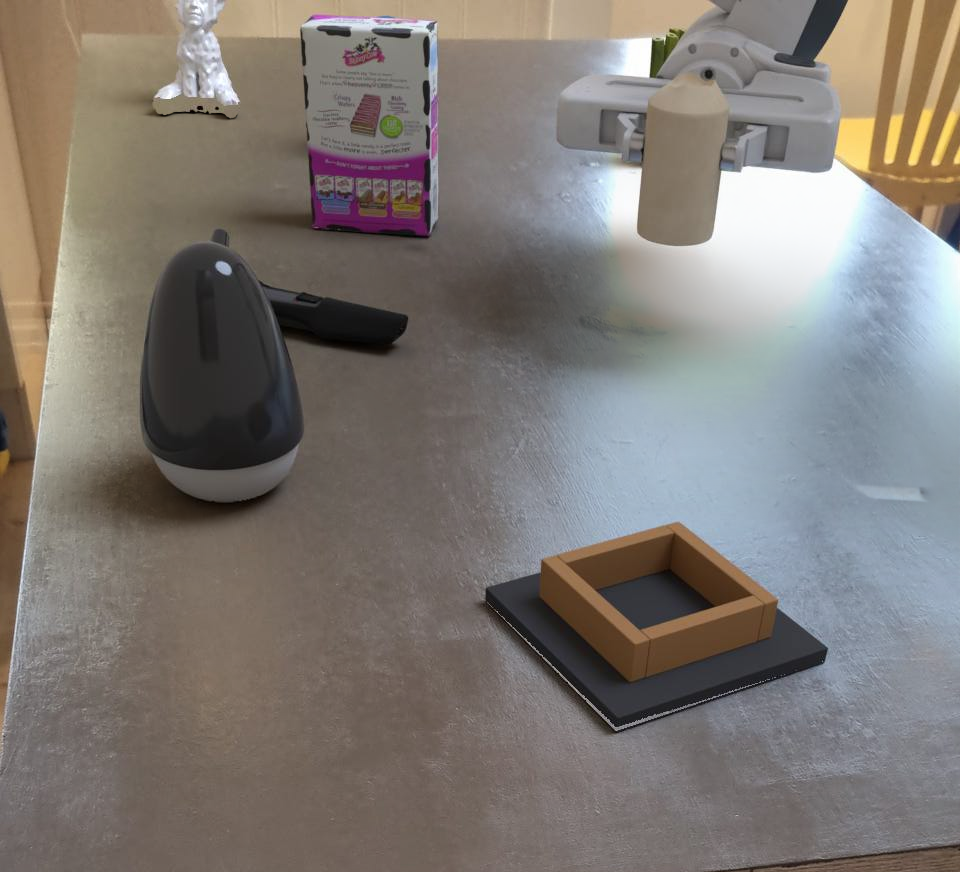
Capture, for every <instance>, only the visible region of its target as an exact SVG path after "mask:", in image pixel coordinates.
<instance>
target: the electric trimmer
mask: <svg viewBox="0 0 960 872" xmlns="http://www.w3.org/2000/svg"><path fill="white" fill-rule="evenodd" d="M258 280H259V282H260V284H261V285H262V287H263V289H264V291H265V293H266V295H267V297H268V299H269V301H270V303H271V306H272V308H273V310H274V313H275V315H276V318H277V321H278V323H279V326H282V327H288V328H293V329H299V330H304V331H309V332H312V333H314V334H315V335H316V336H317V338H320V339H328V340H330V339H331V340H338V341H339V340H340V341H349V342H360V343H369V344H380V345H381V344H382V345H391V344H393V343H394V342H396V341H397V340H398V339H400V338H401V337H402V336H404V334H405V332H406V330H407V327H408V322H409V316H408V315H407V314H404V313H399V312H395V311H391V310H386V309H381V308H377V307H372V306H369V305H363V304H358V303H354V302H351V301H345V300H340V299H337V298H332V297H329V296H325V297H323V296H321V295H320V296H318V295H315V294H312V293H307V292H306V291H302V292H298V291H293V290H288V289H284V288H280V287H279V288H278V287H274V286H271V285H268V284H265V283H264V282H263V281H261V280H260V279H258Z"/></svg>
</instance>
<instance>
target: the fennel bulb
mask: <svg viewBox="0 0 960 872" xmlns="http://www.w3.org/2000/svg"><path fill="white" fill-rule="evenodd" d="M686 30H687V29H685V28H678V27H669V29H668V32H666V34H665V39H664V38H663V37H661V36H653V37H651V50H650V63H649V75H648V78H656V76H657V74H658V72H659V70H660V69H661V67H662V66H663V64H664V63H665V61H666V60H667V58H668V57H669V55H670V54H671V52H672V51H673V49H674V48H675V47H676V45H677V43H678V41H679V40H680V38H681V37H682V35H683V34H684V33H685V32H686Z"/></svg>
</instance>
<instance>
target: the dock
mask: <svg viewBox="0 0 960 872" xmlns="http://www.w3.org/2000/svg"><path fill="white" fill-rule="evenodd" d="M484 596H485V599H484V602H485V603H486V604H487V606H489V607H490V609H491V610H493V611H494V612H495V613H496V614H497V615H498V616H499V617H500V619H502V620H503V621H504V622H505V624H507V625H508V626H509V627H510V629H512V630H513V631H514V632H515V633H516V634H517V636H519V637H520V638H521V639H522V640H523V641H524V642H525V643H526V644H527V645H528V647H530V648H531V650H533V651H534V652H535V653H536V654H537V655H538V656H539V658H540V659H542V660H543V661H544V662H545V663H546V664H547V666H549V667H550V668H551V669H552V671H554V672H555V673H556V674H557V676H558V677H559V678H561V680H563V681H564V682H565V683H566V685H568V687H570V689H572V690H573V691H574V692H575V693H576V694H577V696H579V698H581V699H582V700H583V702H585V704H586V705H587V706H588V707H589V708H590V709H592V710H593V712H594V713H596V714H597V716H599V717H600V719H601V720H603V722H605V723H606V725H608V727H610V728H611V729H612V730H613V731H614V732H615V733H620V732H623V731H625V730H628V729H631V728H635V727H636V726H640V725H643V724H646V723H648V722H649V723H650V722H652V721H655V720H657V719H661V718H664V717H667V716H670V715H673V714H676V713H678V712H682V711H684V710H688V709H691V708H693V707H697V706H700V705H702V704H705V703H709V702H712V701H714V700H717V699H720V698H723V697H726V696H729V695H732V694H736V693H738V692H741V691H744V690H747V689H750V688H753V687H756V686H758V685H761V684H764V683H768V682H770V681H773V680H774V681H775V680H777V679H779V678H783V677H786V676H789V675H792V674H795V673H798V672H800V671H803V670H806V669H809V668H812V667H815V666H819V665H821V664H824V663H826V660H827V656H828V651H829V647H828V646H827V645H826V644H824V643H823V642H821V640H819V639H818V638H816V637H815V636H814V635H812V634H811V632H809V631H807V630H806V629H805V628H804V627H802V626H801V625H800V624H799V623H798V622H796V621H795V620H794V619H793V618H791V617H790V616H789V615H787V614H786V613H784V612H783V610H781V609H779V607H778V604H779V598H777V597H776V596H775V595H773V594H772V593H771V592H770V591H769V590H767V589H765V587H764V586H762V585H761V584H759V583H758V582H757V581H755V580H754V579H753V578H752V577H750V576H749V575H748V574H747V573H746V572H744V571H743V570H742V569H740V568H739V567H738V566H737V565H735V564H734V563H732V561H730V560H729V559H727V558H726V557H725V556H724V555H722V554H721V553H720V552H719V551H717V550H716V549H715V548H714V547H712V546H711V545H710V544H709V543H707V542H706V541H704V540H703V539H702V538H701V537H699V536H698V535H697V534H696V533H694V532H693V531H692V530H690V529H689V528H688V527H687V526H686V525H684V524H683V523H682V522H680V521H675V522H671V523H667V524H665V525H664V524H663V525H659V526H657V527H653V528H649V529H646V530H642V531H638V532H634V533H631V534H627V535H624V536H620V537H616V538H612V539H608V540H605V541H601V542H598V543H594V544H590V545H587V546H584V547H579V548H576V549H572V550H568V551H565V552H561V553H558V554H556V555H555V554H554V555H552V556H548V557H547V556H546V557H544V558H541V560H540V571H539V572H537V573H533V574H529V575H526V576H522V577H519V578H515V579H511V580H507V581H505V582H501V583H497V584H493V585H490V586H487V587H485V595H484ZM485 600H486V601H485ZM487 602H488V603H489V604H490V605H491V606H492V607H493V608H492V607H491V606H490V605H489V604H488V603H487ZM494 609H495V610H496V611H498V613H499V614H500V615H501V616H503V617H504V618H505V620H506V621H507V622H509V623H510V624H511V625H512V627H514V628H515V629H516V630H517V631H518V632H519V633H520V634H521V635H522V636H523V637H524V638H526V639H527V641H528V642H530V643H531V645H532V646H534V647H535V648H536V650H538V651H539V653H540V654H542V655H543V657H545V658H546V659H547V660H548V661H549V662H550V663H551V664H552V666H554V667H555V668H556V669H557V670H558V671H559V672H560V673H561V674H562V675H563V676H564V677H565V678H566V679H567V680H568V681H569V682H570V683H571V684H572V685H573V686H574V687H575V688H576V689H577V690H578V691H579V692H580V693H581V694H582V695H584V696H585V698H587V699H588V700H589V701H590V702H591V703H592V704H593V705H594V706H595V707H596V708H597V709H598V710H599V711H601V713H602V714H604V716H605V717H607V719H609V720H610V722H611V723H612V724H614V726H615V727H619V726H622V725H625V724H629V723H632V722H635V721H636V720H637V721H638V720H641V719H642V718H643V719H644V718H647V717H648V716H653V715H654V714H656V715H657V714H660V713H663V712H666V711H671V710H672V709H673V710H674V709H677V708H680V707H683V706H685V705H686V706H687V705H688V704H693V703H696V702H699V701H702V700H705V699H706V700H707V699H708V698H712V697H713V696H718V695H719V694H720V695H721V694H724V693H727V692H729V691H732V690H733V691H734V690H735V689H739V688H740V687H741V688H742V687H745V686H748V685H752V684H755V683H758V684H755V685H752V686H749V687H746V688H743V689H740V690H737V691H734V692H731V693H728V694H725V695H722V696H719V697H716V698H713V699H710V700H707V701H704V702H701V703H698V704H696V705H693V706H690V707H687V708H684V709H681V710H678V711H675V712H672V713H669V714H666V715H663V716H660V717H657V718H654V719H651V720H648V721H645V722H642V723H639V724H636V725H633V726H630V727H627V728H624V729H621V730H618V731H615V730H614V729H613V728H612V727H611V726H610V725H609V724H608V723H607V722H606V721H605V720H604V719H603V718H602V717H601V716H600V715H599V714H598V713H597V712H596V711H595V710H594V709H593V708H592V707H591V706H590V705H589V704H588V703H587V702H586V701H585V700H584V699H583V698H582V697H581V696H580V695H579V694H578V693H577V692H576V691H575V690H574V689H573V688H572V687H571V686H570V685H569V684H568V683H567V682H566V681H565V680H564V679H563V678H562V677H561V676H560V675H559V674H558V673H557V672H556V671H555V670H554V669H553V668H552V667H551V666H550V665H549V664H548V663H547V662H546V661H545V660H544V659H543V658H542V657H541V656H540V655H539V654H538V653H537V652H536V651H535V650H534V649H533V648H532V647H531V646H530V645H529V644H528V643H527V642H526V641H525V640H524V639H523V638H522V637H521V636H520V635H519V634H518V633H517V632H516V631H515V630H514V629H513V628H512V627H511V626H510V625H509V624H508V623H507V622H506V621H505V620H504V619H503V618H502V617H501V616H500V615H499V614H498V613H497V612H496V611H495V610H494ZM822 661H823V662H822ZM796 670H797V671H796ZM784 674H785V675H784ZM781 675H782V676H781ZM774 677H776V678H774ZM772 678H773V679H772ZM767 679H770V680H767ZM765 680H766V681H765ZM760 681H761V683H759V682H760ZM762 681H764V682H762Z"/></svg>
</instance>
